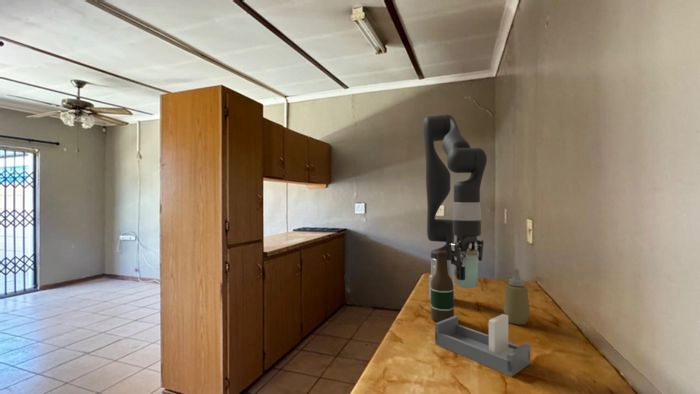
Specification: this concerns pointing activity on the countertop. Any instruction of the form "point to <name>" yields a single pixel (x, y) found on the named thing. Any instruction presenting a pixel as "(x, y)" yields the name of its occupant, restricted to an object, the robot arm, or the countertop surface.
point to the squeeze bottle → (516, 300)
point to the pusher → (499, 336)
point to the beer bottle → (442, 290)
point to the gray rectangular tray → (479, 347)
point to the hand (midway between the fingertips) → (467, 277)
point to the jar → (470, 270)
